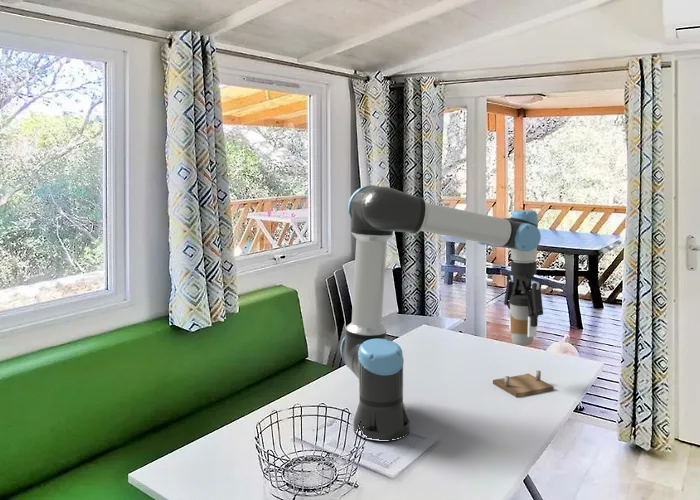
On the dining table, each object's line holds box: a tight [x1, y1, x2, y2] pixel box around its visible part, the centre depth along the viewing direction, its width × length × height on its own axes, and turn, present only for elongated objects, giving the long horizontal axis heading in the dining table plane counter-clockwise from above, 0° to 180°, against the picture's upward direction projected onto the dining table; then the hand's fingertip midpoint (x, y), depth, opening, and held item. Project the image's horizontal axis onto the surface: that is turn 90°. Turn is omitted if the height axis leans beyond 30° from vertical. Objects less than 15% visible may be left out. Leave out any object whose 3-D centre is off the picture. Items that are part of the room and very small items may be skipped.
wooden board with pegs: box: [492, 370, 555, 398], centre depth 181 cm, size 14×12×4 cm
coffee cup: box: [508, 292, 534, 346], centre depth 178 cm, size 8×8×15 cm
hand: (522, 332), depth 179 cm, fingers closed on coffee cup, 8 cm apart
